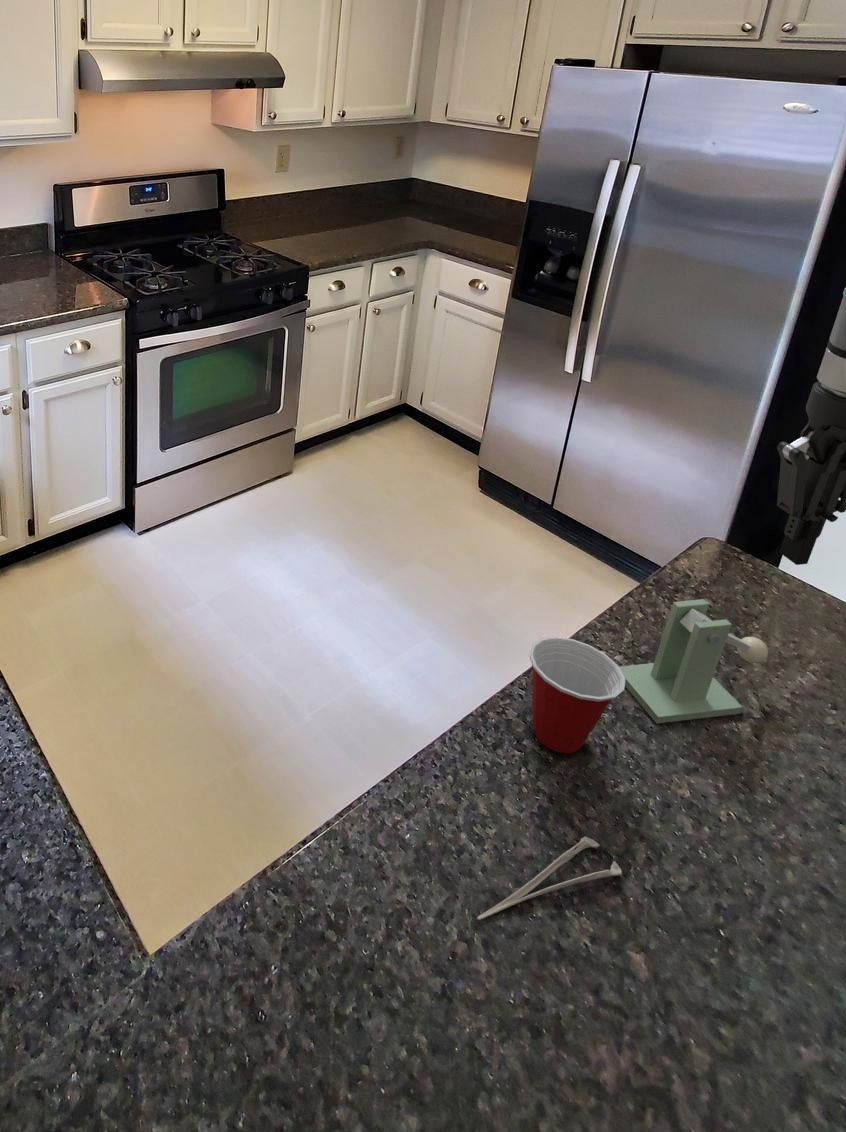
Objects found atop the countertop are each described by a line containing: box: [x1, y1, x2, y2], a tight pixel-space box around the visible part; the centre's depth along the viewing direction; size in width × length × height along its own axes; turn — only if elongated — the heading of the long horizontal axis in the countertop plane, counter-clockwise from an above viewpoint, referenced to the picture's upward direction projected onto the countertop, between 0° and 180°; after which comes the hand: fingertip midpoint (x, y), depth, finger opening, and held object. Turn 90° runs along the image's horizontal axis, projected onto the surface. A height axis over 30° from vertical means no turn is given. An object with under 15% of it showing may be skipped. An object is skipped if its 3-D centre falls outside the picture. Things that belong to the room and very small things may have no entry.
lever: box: [680, 609, 769, 664], centre depth 105 cm, size 14×3×3 cm, turn 98°
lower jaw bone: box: [476, 835, 623, 921], centre depth 84 cm, size 17×5×2 cm, turn 112°
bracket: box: [619, 598, 743, 725], centre depth 105 cm, size 12×9×14 cm
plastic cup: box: [528, 636, 626, 754], centre depth 99 cm, size 11×11×12 cm
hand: (793, 557), depth 101 cm, fingers closed
